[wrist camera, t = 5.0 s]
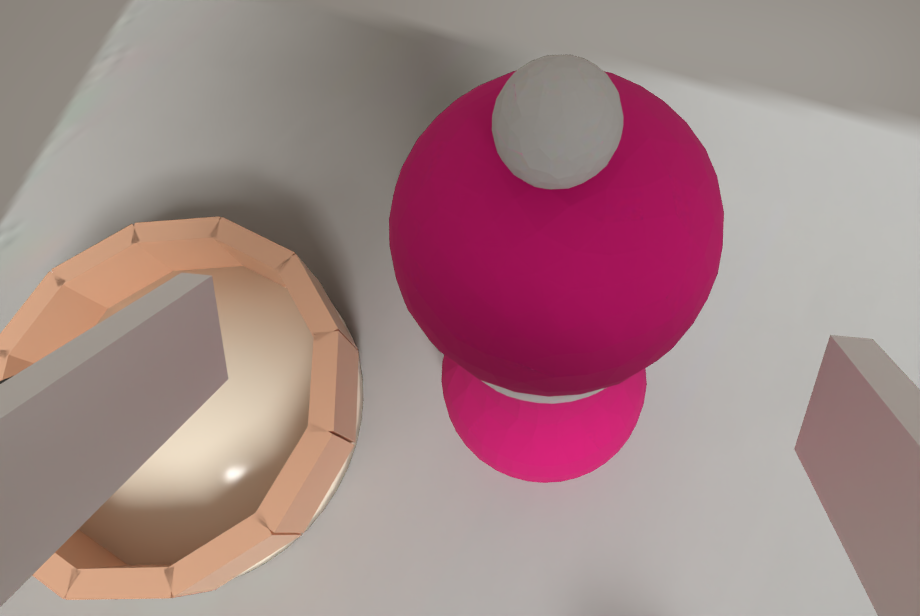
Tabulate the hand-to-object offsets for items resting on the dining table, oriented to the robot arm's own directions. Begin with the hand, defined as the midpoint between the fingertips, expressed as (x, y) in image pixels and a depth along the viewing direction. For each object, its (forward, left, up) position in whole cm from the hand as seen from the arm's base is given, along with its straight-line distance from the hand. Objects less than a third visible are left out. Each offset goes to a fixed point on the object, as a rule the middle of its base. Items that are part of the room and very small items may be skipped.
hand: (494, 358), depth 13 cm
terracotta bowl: (+9, +11, -13) cm, 19 cm away
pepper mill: (+1, -2, -14) cm, 14 cm away
